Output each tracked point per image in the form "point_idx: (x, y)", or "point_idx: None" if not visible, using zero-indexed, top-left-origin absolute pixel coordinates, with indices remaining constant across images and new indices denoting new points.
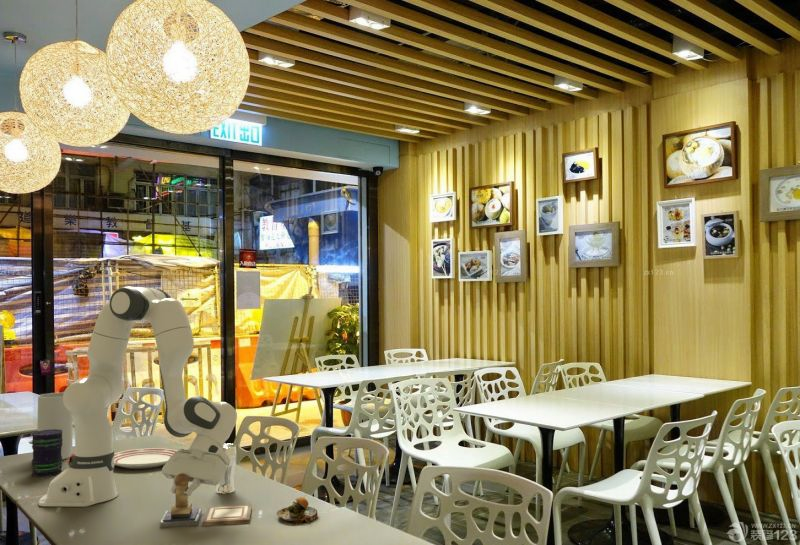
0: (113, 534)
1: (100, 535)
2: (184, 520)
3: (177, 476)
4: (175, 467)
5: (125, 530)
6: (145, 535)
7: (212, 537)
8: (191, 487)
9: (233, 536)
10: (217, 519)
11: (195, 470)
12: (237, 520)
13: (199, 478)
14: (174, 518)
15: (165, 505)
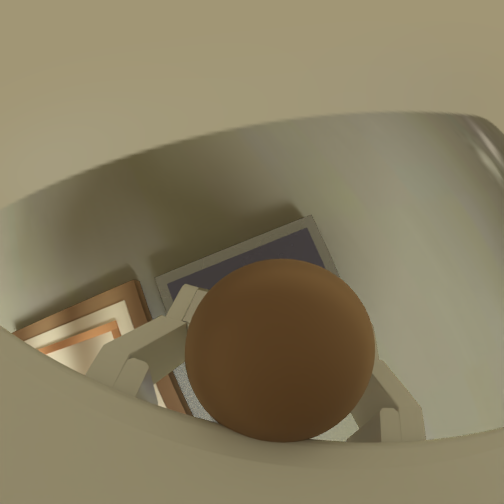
0: (408, 139)
1: (431, 131)
2: (210, 262)
3: (329, 291)
4: (481, 499)
5: (404, 174)
6: (306, 141)
7: (71, 183)
8: (154, 322)
9: (26, 210)
10: (87, 317)
11: (100, 479)
12: (33, 323)
13: (48, 356)
14: (264, 258)
15: None
